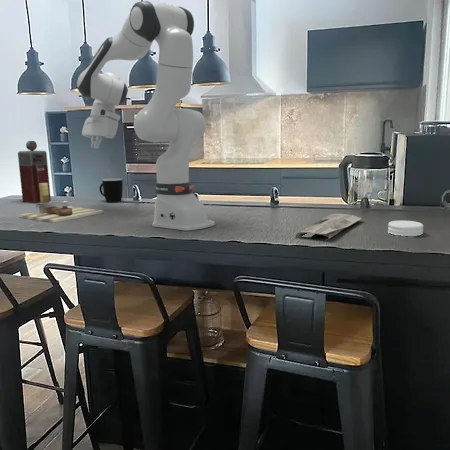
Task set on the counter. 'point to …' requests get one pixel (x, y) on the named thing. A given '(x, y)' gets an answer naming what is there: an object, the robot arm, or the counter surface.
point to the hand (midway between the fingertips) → (94, 148)
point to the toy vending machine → (33, 172)
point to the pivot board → (55, 218)
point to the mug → (112, 189)
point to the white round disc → (405, 228)
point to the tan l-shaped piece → (45, 198)
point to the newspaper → (330, 225)
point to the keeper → (41, 206)
